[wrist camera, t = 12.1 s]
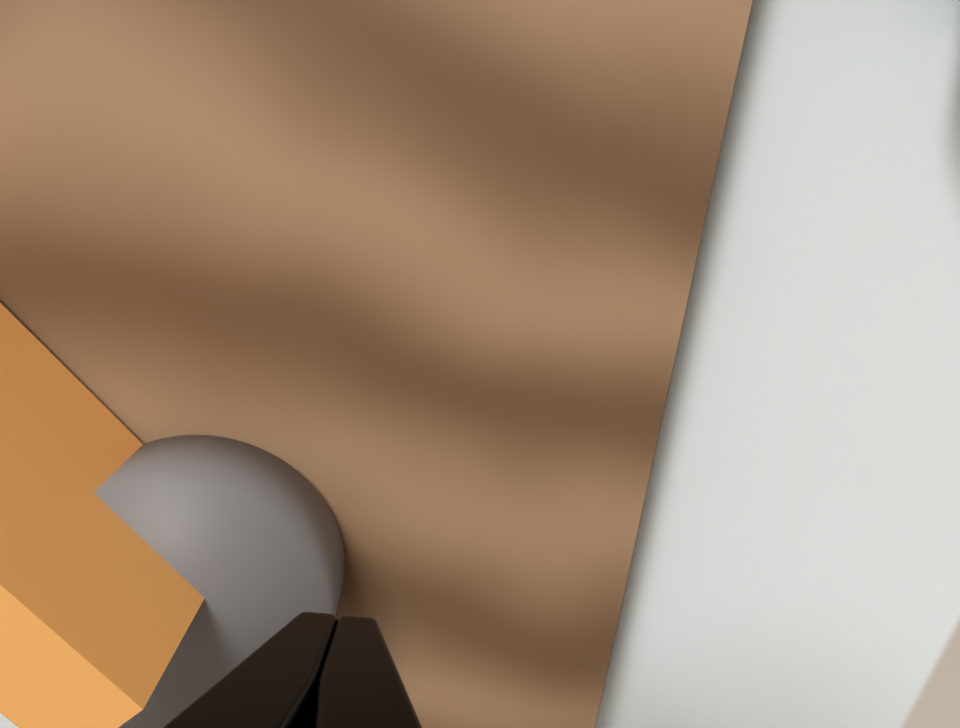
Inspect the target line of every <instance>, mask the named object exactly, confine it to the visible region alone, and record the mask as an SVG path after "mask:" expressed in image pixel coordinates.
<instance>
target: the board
mask: <svg viewBox="0 0 960 728" xmlns="http://www.w3.org/2000/svg"><path fill="white" fill-rule="evenodd" d="M752 1H753V0H0V303H1V304H2V305H3V306H4V307H5V308H6V309H7V310H8V311H9V312H10V313H11V314H12V315H13V316H14V317H15V318H16V319H17V320H18V321H19V322H20V323H21V324H22V325H23V326H24V327H25V328H26V329H27V330H28V331H29V332H30V333H31V334H32V335H33V336H34V337H35V338H36V339H37V340H38V341H39V342H41V343H42V344H43V345H44V346H45V347H46V348H47V349H48V350H49V351H50V352H51V353H52V354H53V355H54V356H55V357H56V358H57V359H58V360H59V361H60V362H61V363H62V364H63V365H64V366H65V367H66V368H67V369H68V370H69V371H70V372H71V373H72V374H73V375H74V376H75V377H76V378H77V379H78V380H79V381H80V382H81V383H82V384H83V385H84V386H85V387H86V388H87V389H88V390H89V391H90V392H91V393H92V394H93V395H94V396H95V397H96V398H97V399H98V400H99V401H100V402H101V403H102V404H103V405H104V406H105V407H106V408H107V409H108V410H109V411H110V412H111V413H112V414H113V415H114V416H115V417H116V418H117V419H118V420H119V421H120V422H121V423H122V424H123V425H124V426H125V427H126V428H127V429H128V430H129V431H130V432H131V433H132V434H133V435H134V436H135V437H136V438H137V439H138V440H139V441H140V442H141V443H142V444H146V443H149V442H151V441H154V440H158V439H163V438H167V437H172V436H181V435H213V436H219V437H225V438H231V439H235V440H238V441H242V442H245V443H249V444H251V445H254V446H256V447H258V448H261V449H263V450H266V451H268V452H269V453H271V454H273V455H275V456H277V457H278V458H280V459H282V460H283V461H285V462H286V463H288V464H289V465H290V466H292V467H293V468H294V469H296V470H297V471H298V472H299V473H301V474H302V475H303V476H304V477H305V478H306V479H307V480H308V481H309V482H310V483H311V484H312V485H313V486H314V488H315V489H316V490H317V491H318V492H319V494H320V495H321V496H322V497H323V499H324V501H325V502H326V504H327V505H328V507H329V508H330V510H331V512H332V514H333V516H334V518H335V521H336V523H337V525H338V528H339V531H340V534H341V538H342V541H343V548H344V555H345V574H344V581H343V587H342V591H341V595H340V599H339V603H338V607H337V610H336V614H335V616H337V619H339V618H340V617H341V616H343V615H351V616H363V617H372V618H374V619H375V620H376V621H377V623H378V625H379V628H380V630H381V632H382V635H383V637H384V639H385V642H386V644H387V646H388V649H389V651H390V654H391V656H392V658H393V661H394V663H395V665H396V668H397V670H398V672H399V675H400V677H401V679H402V682H403V684H404V686H405V689H406V691H407V693H408V696H409V698H410V700H411V703H412V705H413V707H414V710H415V712H416V714H417V717H418V719H419V721H420V724H421V726H422V728H595V726H596V721H597V716H598V712H599V707H600V702H601V698H602V693H603V689H604V684H605V679H606V675H607V670H608V666H609V661H610V656H611V652H612V647H613V642H614V638H615V633H616V629H617V624H618V619H619V615H620V610H621V606H622V601H623V596H624V592H625V587H626V582H627V578H628V573H629V569H630V564H631V559H632V555H633V550H634V546H635V541H636V536H637V532H638V527H639V522H640V518H641V513H642V509H643V504H644V499H645V495H646V490H647V486H648V481H649V476H650V472H651V467H652V462H653V458H654V453H655V449H656V444H657V439H658V435H659V430H660V425H661V421H662V416H663V412H664V407H665V402H666V398H667V393H668V389H669V384H670V379H671V375H672V370H673V365H674V361H675V356H676V352H677V347H678V342H679V338H680V333H681V329H682V324H683V319H684V315H685V310H686V305H687V301H688V296H689V292H690V287H691V282H692V278H693V273H694V269H695V264H696V259H697V255H698V250H699V245H700V241H701V236H702V232H703V227H704V222H705V218H706V213H707V209H708V204H709V199H710V195H711V190H712V185H713V181H714V176H715V172H716V167H717V162H718V158H719V153H720V149H721V144H722V139H723V135H724V130H725V125H726V121H727V116H728V112H729V107H730V102H731V98H732V93H733V88H734V84H735V79H736V75H737V70H738V65H739V61H740V56H741V52H742V47H743V42H744V38H745V33H746V28H747V24H748V19H749V15H750V10H751V5H752Z"/></svg>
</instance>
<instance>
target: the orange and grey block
mask: <svg viewBox="0 0 960 728" xmlns="http://www.w3.org/2000/svg"><path fill="white" fill-rule="evenodd" d="M344 574H345V555H344V548H343V541H342V538H341V534H340V531H339V528H338V525H337V523H336V521H335V518H334V516H333V514H332V512H331V510H330V508H329V507H328V505H327V504H326V502H325V501H324V499H323V497H322V496H321V495H320V494H319V492H318V491H317V490H316V489H315V488H314V486H313V485H312V484H311V483H310V482H309V481H308V480H307V479H306V478H305V477H304V476H303V475H302V474H301V473H299V472H298V471H297V470H296V469H294V468H293V467H292V466H290V465H289V464H288V463H286V462H285V461H283V460H282V459H280V458H278V457H277V456H275V455H273V454H271V453H269V452H268V451H266V450H263V449H261V448H258V447H256V446H254V445H251V444H249V443H245V442H242V441H238V440H235V439H231V438H225V437H219V436H213V435H181V436H172V437H167V438H163V439H158V440H154V441H151V442H149V443H146V444H142V443H141V442H140V441H139V440H138V439H137V438H136V437H135V436H134V435H133V434H132V433H131V432H130V431H129V430H128V429H127V428H126V427H125V426H124V425H123V424H122V423H121V422H120V421H119V420H118V419H117V418H116V417H115V416H114V415H113V414H112V413H111V412H110V411H109V410H108V409H107V408H106V407H105V406H104V405H103V404H102V403H101V402H100V401H99V400H98V399H97V398H96V397H95V396H94V395H93V394H92V393H91V392H90V391H89V390H88V389H87V388H86V387H85V386H84V385H83V384H82V383H81V382H80V381H79V380H78V379H77V378H76V377H75V376H74V375H73V374H72V373H71V372H70V371H69V370H68V369H67V368H66V367H65V366H64V365H63V364H62V363H61V362H60V361H59V360H58V359H57V358H56V357H55V356H54V355H53V354H52V353H51V352H50V351H49V350H48V349H47V348H46V347H45V346H44V345H43V344H42V343H41V342H39V341H38V340H37V339H36V338H35V337H34V336H33V335H32V334H31V333H30V332H29V331H28V330H27V329H26V328H25V327H24V326H23V325H22V324H21V323H20V322H19V321H18V320H17V319H16V318H15V317H14V316H13V315H12V314H11V313H10V312H9V311H8V310H7V309H6V308H5V307H4V306H3V305H2V304H1V303H0V713H1V714H3V715H4V716H5V717H6V718H8V719H9V720H10V721H11V722H12V723H14V724H15V725H16V726H17V727H19V728H162V727H163V726H165V725H166V724H167V723H168V722H169V721H171V720H172V719H173V718H174V717H175V716H177V715H178V714H179V713H180V712H181V711H183V710H184V709H185V708H186V707H187V706H189V705H190V704H191V703H192V702H193V701H195V700H196V699H197V698H198V697H200V696H201V695H202V694H203V693H204V692H206V691H207V690H208V689H209V688H210V687H212V686H213V685H214V684H215V683H216V682H218V681H219V680H220V679H221V678H222V677H224V676H225V675H226V674H227V673H228V672H230V671H231V670H232V669H233V668H235V667H236V666H237V665H238V664H239V663H241V662H242V661H243V660H244V659H245V658H247V657H248V656H249V655H250V654H251V653H253V652H254V651H255V650H256V649H257V648H259V647H260V646H261V645H262V644H263V643H265V642H266V641H267V640H268V639H270V638H271V637H272V636H273V635H274V634H276V633H277V632H278V631H279V630H280V629H282V628H283V627H284V626H285V625H286V624H288V623H289V622H290V621H291V620H292V619H294V618H295V617H296V616H297V615H299V614H300V613H302V612H316V613H328V614H334V615H335V614H336V610H337V607H338V603H339V599H340V595H341V591H342V587H343V581H344Z"/></svg>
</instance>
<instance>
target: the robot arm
mask: <svg viewBox="0 0 960 728" xmlns="http://www.w3.org/2000/svg"><path fill="white" fill-rule="evenodd" d="M162 728H422V726H421V724H420V721H419V719H418V717H417V714H416V712H415V710H414V707H413V705H412V703H411V700H410V698H409V696H408V693H407V691H406V689H405V686H404V684H403V682H402V679H401V677H400V675H399V672H398V670H397V668H396V665H395V663H394V661H393V658H392V656H391V654H390V651H389V649H388V646H387V644H386V642H385V639H384V637H383V635H382V632H381V630H380V628H379V625H378V623H377V621H376V620H375V619H374V618H372V617H363V616H351V615H343V616H341V617H340V618H339V619H337V616H335V615H334V614H328V613H316V612H302V613H300V614H299V615H297V616H296V617H295V618H294V619H292V620H291V621H290V622H289V623H288V624H286V625H285V626H284V627H283V628H282V629H280V630H279V631H278V632H277V633H276V634H274V635H273V636H272V637H271V638H270V639H268V640H267V641H266V642H265V643H263V644H262V645H261V646H260V647H259V648H257V649H256V650H255V651H254V652H253V653H251V654H250V655H249V656H248V657H247V658H245V659H244V660H243V661H242V662H241V663H239V664H238V665H237V666H236V667H235V668H233V669H232V670H231V671H230V672H228V673H227V674H226V675H225V676H224V677H222V678H221V679H220V680H219V681H218V682H216V683H215V684H214V685H213V686H212V687H210V688H209V689H208V690H207V691H206V692H204V693H203V694H202V695H201V696H200V697H198V698H197V699H196V700H195V701H193V702H192V703H191V704H190V705H189V706H187V707H186V708H185V709H184V710H183V711H181V712H180V713H179V714H178V715H177V716H175V717H174V718H173V719H172V720H171V721H169V722H168V723H167V724H166V725H165V726H163V727H162Z"/></svg>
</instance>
